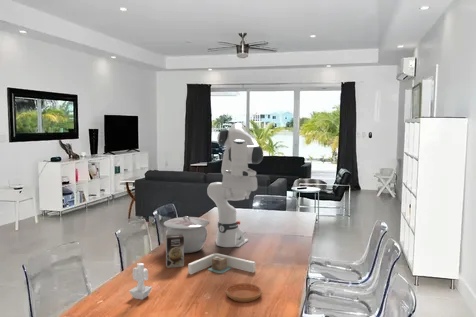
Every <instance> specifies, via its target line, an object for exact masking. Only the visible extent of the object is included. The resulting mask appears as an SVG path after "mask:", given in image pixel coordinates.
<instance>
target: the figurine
mask: <svg viewBox="0 0 476 317" xmlns="http://www.w3.org/2000/svg"><path fill="white" fill-rule="evenodd" d="M132 279H133V280H134V281H136V282H137V285H136V286H135V287H133V288H131V289H130V290H129V291H128V292H129V293H130V295H131V296H132V297H133V299H135V300H136V299H137V300H144V299H145V298H147V297H149V295H150V293H151V291H152V289H153V286H150V285H149V286H147V285H145V281H148V279H149V270H148V269H147V268H145V263H142V262H137V263H136V267H133V268H132Z"/></svg>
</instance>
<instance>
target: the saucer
mask: <svg viewBox="0 0 476 317" xmlns="http://www.w3.org/2000/svg"><path fill="white" fill-rule="evenodd" d="M262 293H263V289H262V288H261V287H259V285H256V284H253V283H235V284H232V285H229V286H228V287H226V288H225V294H226V296H227V297H228V298H229V299H231V300H232V301H234V302H238V303H239V302H240V303H248V302H249V303H250V302H253V301H256V300H257V299H258V298H260V296H262Z"/></svg>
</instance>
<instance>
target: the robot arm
mask: <svg viewBox="0 0 476 317" xmlns="http://www.w3.org/2000/svg"><path fill="white" fill-rule="evenodd" d="M216 139H217V143H218V145H219V146H221V147H225V149H224V153H223V156H222V161H221V169H220V171H221V172H220V173H221V175H222V181H215V182H211V183H210V184H208V186H207V190H206V191H207V192H206V193H207V196H208V197H209V198H210V199H211V200H212V201H213V202H214V203H215V205H216V207H217V214H218V222H217V230H216V239H215V241H214V242H215V245H216V246H217V247H223V248H234V247H235V248H236V247H237V248H239V247H240V248H241V247H242V246H243V245H244V244H246V243H248V242H249V238H246V237H245V236H246V235H245V232H244V230H242V229H241V228H240V227H239V225H241V221H239V220H237V210H236V207H234V206H233V205H231V204H230V203H229V202H228V201H235V202H236V201H243V200H249V199H250V195H251V193H252V192H255V191H257V190H258V178H257V171H256V170H253V169H252V168H249V164H252V165H258V164H260V163H261V162H262V161H263V159H264V150H263V148H262V146H260V144H259V143H258V141H257V140H256V138H255V136H253V135H252V134H251V133H249V132H247V129H246V127H245V126H244V124H243V123H240V122H235V123H233V124H231V126H230V127H229V129H228V128H224V129H221V130H220V131H219V132H218V134H217V138H216Z"/></svg>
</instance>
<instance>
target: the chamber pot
mask: <svg viewBox="0 0 476 317" xmlns="http://www.w3.org/2000/svg"><path fill="white" fill-rule="evenodd" d="M210 223H211V222H210V220H208V219H206V218H203V217H196V216H187V215H185V216H183V217H182V216H181V217H180V216H179V217H175V218H171V219H168V220H166V221H164V222H163V226H164V227H166V228H167V229H166V231H165V236H166V235H177V234H182V235H183V236H184V254H192V253H196V252H198V251H200V250H202V248H203V247H204V246H205V244H206V242H207V239H208V238H207V236H208V229H207V226H209V225H210Z"/></svg>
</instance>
